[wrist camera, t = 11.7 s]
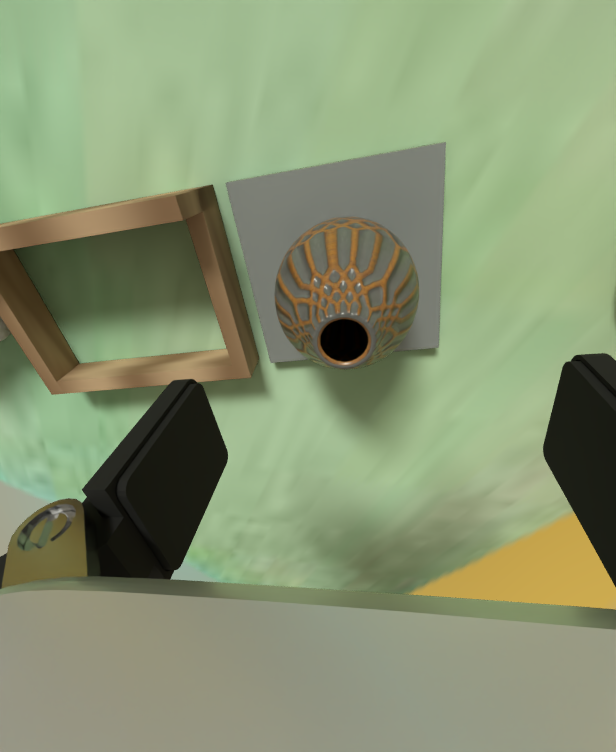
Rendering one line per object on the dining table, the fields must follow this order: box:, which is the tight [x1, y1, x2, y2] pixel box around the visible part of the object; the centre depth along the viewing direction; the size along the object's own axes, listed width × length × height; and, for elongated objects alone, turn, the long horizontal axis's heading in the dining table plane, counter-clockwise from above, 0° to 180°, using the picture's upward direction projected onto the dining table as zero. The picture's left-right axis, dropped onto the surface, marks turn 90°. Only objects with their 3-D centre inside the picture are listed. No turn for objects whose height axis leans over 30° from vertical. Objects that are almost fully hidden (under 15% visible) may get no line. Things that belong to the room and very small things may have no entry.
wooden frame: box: [0, 185, 259, 395], centre depth 22 cm, size 15×11×5 cm
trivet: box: [226, 142, 446, 363], centre depth 21 cm, size 11×11×1 cm
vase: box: [274, 216, 419, 370], centre depth 17 cm, size 7×7×9 cm
